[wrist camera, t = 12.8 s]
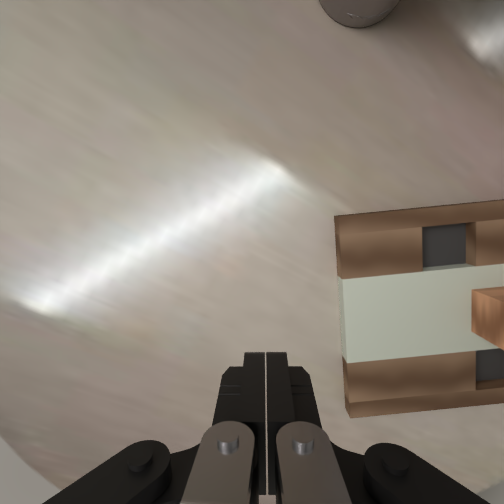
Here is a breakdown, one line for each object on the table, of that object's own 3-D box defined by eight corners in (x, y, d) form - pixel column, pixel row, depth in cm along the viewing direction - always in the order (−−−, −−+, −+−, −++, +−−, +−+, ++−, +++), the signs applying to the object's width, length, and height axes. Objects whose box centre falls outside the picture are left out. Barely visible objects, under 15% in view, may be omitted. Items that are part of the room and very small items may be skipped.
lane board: (334, 215, 38) (344, 217, 34) (577, 192, 39) (615, 191, 35) (345, 408, 42) (355, 429, 38) (567, 385, 42) (601, 405, 38)
